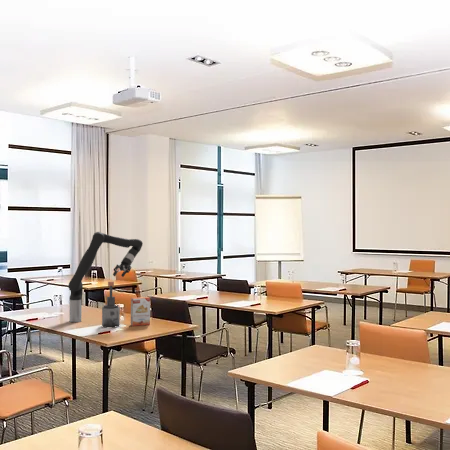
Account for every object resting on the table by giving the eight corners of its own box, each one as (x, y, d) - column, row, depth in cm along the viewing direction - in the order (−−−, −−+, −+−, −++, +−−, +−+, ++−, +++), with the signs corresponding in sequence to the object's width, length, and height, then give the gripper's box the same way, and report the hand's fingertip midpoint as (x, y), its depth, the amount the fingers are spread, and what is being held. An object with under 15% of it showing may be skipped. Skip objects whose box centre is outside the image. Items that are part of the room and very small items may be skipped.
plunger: (107, 297, 403) (107, 281, 404) (113, 297, 405) (113, 281, 405) (108, 298, 399) (108, 282, 399) (114, 297, 401) (114, 281, 401)
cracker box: (132, 326, 400) (132, 298, 401) (130, 325, 406) (130, 297, 406) (150, 324, 407) (150, 297, 407) (147, 323, 412) (147, 296, 412)
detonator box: (101, 325, 406) (101, 296, 406) (118, 324, 410) (118, 295, 410) (103, 329, 389) (103, 299, 390) (121, 328, 394) (121, 298, 394)
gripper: (118, 256, 420) (108, 272, 410) (132, 257, 413) (122, 273, 403) (123, 263, 425) (113, 278, 415) (137, 263, 418) (127, 279, 408)
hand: (118, 275), depth 409 cm, fingers open, 8 cm apart
